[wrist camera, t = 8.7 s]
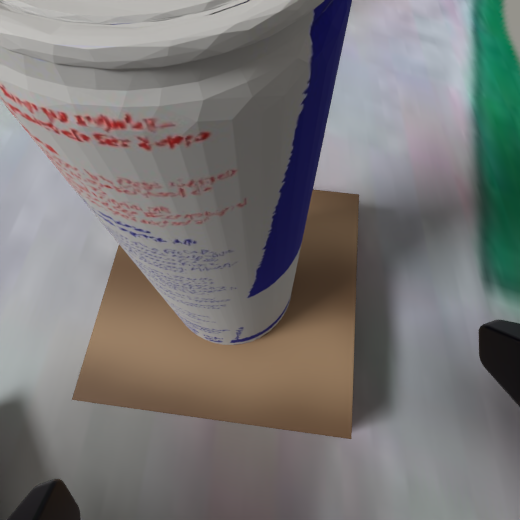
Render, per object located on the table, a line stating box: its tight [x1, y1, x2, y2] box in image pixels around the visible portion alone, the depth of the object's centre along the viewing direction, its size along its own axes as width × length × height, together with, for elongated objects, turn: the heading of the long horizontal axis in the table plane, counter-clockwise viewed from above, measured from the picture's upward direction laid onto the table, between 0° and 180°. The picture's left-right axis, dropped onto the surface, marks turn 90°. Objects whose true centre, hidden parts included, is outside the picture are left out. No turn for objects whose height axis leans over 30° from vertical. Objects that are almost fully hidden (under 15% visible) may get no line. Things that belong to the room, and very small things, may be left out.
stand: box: [72, 190, 359, 439], centre depth 20 cm, size 12×12×3 cm
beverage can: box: [0, 0, 352, 345], centre depth 11 cm, size 6×6×15 cm
